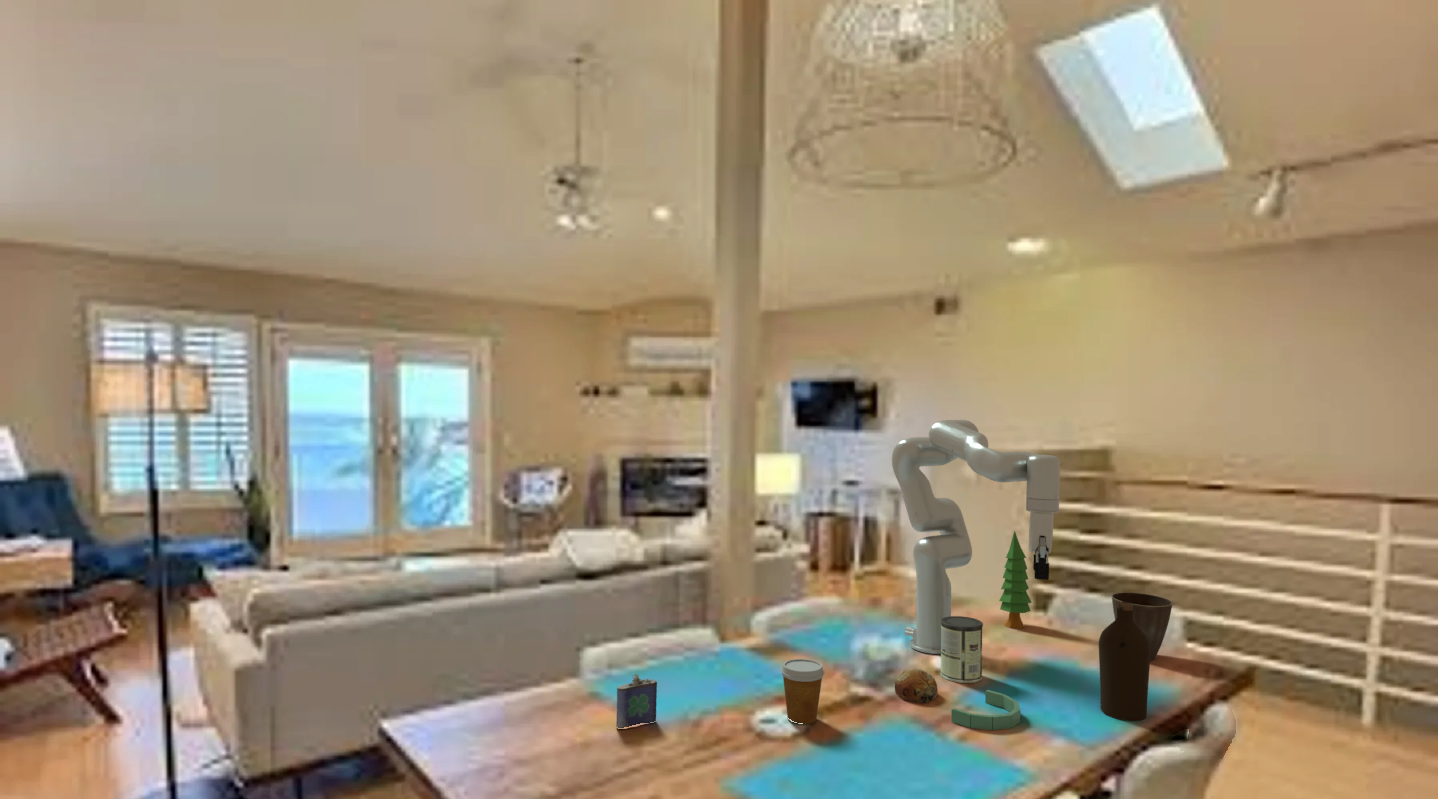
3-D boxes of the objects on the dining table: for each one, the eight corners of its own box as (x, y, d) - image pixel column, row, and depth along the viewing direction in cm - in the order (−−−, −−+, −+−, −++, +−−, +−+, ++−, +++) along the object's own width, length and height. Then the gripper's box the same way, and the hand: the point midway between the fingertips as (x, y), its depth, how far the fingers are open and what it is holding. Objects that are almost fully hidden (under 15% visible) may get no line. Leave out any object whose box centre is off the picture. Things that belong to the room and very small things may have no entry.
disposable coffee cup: (827, 714, 184) (828, 660, 184) (818, 730, 175) (819, 674, 175) (786, 708, 187) (786, 656, 187) (775, 724, 178) (775, 669, 178)
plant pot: (1173, 654, 229) (1174, 597, 229) (1169, 669, 217) (1170, 608, 217) (1114, 645, 238) (1115, 589, 237) (1107, 658, 225) (1108, 600, 225)
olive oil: (1159, 722, 181) (1160, 609, 181) (1110, 722, 181) (1112, 609, 181) (1135, 704, 192) (1136, 597, 191) (1089, 703, 192) (1091, 597, 192)
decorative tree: (1000, 628, 253) (1002, 531, 252) (995, 620, 262) (996, 526, 262) (1033, 630, 251) (1035, 532, 251) (1027, 622, 260) (1028, 527, 260)
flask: (619, 731, 173) (619, 680, 173) (613, 726, 176) (614, 676, 176) (658, 723, 178) (659, 673, 178) (652, 718, 180) (653, 669, 180)
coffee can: (951, 666, 217) (952, 613, 217) (989, 676, 210) (989, 621, 210) (932, 676, 209) (933, 621, 209) (970, 686, 202) (971, 629, 202)
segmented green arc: (951, 721, 180) (951, 709, 180) (987, 701, 192) (987, 689, 192) (997, 736, 173) (998, 723, 173) (1032, 714, 185) (1032, 702, 185)
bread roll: (935, 706, 199) (933, 672, 202) (941, 703, 189) (939, 667, 193) (893, 704, 200) (892, 670, 203) (898, 701, 190) (896, 665, 194)
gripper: (1025, 499, 211) (1023, 566, 211) (1026, 509, 194) (1025, 581, 195) (1057, 501, 208) (1055, 569, 209) (1061, 511, 192) (1059, 584, 192)
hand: (1040, 574), depth 202 cm, fingers open, 9 cm apart
